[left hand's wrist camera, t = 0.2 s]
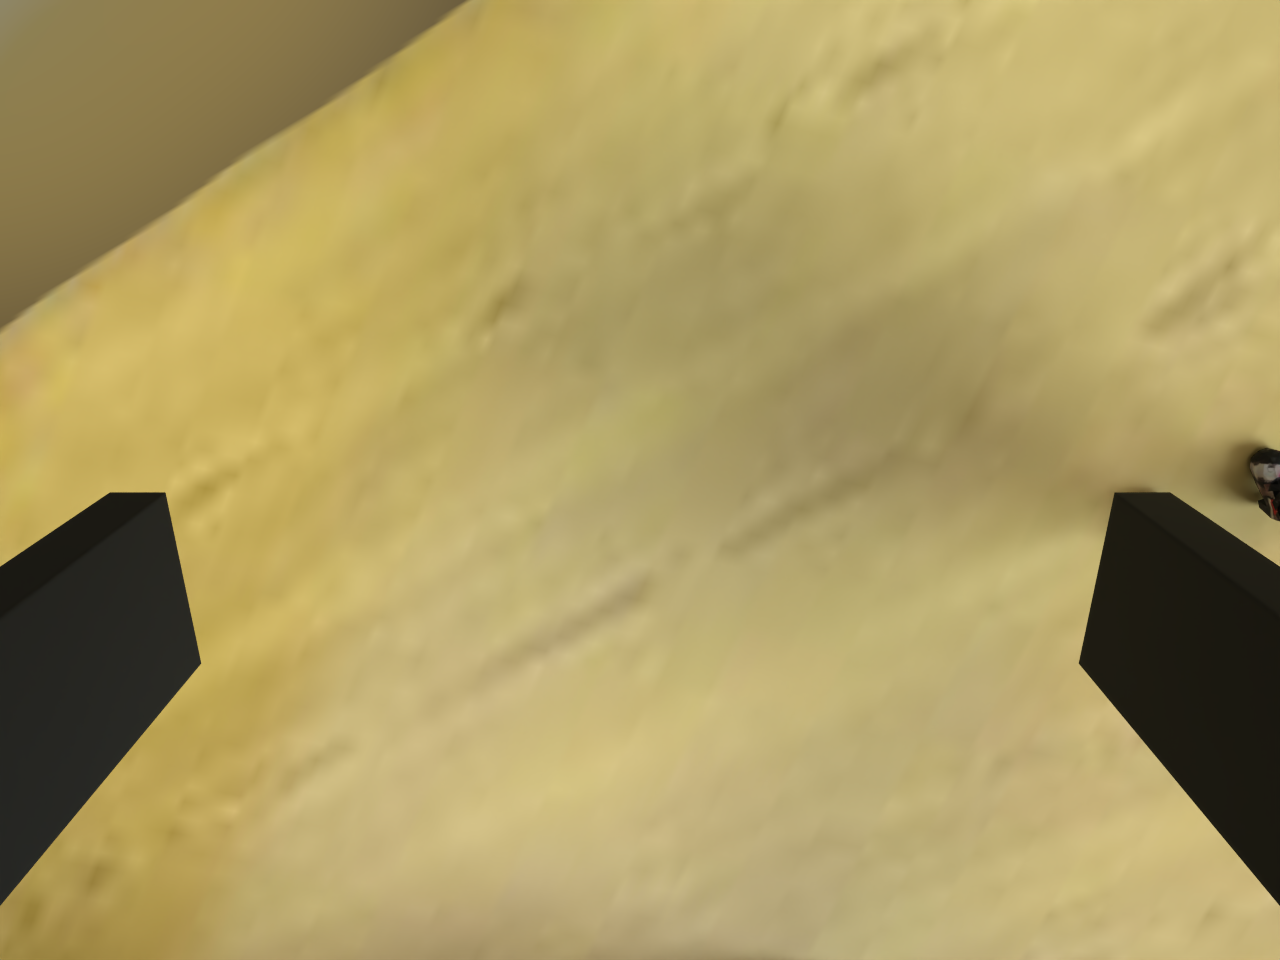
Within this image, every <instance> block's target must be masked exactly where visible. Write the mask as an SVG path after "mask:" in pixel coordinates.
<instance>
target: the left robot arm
mask: <svg viewBox="0 0 1280 960" xmlns="http://www.w3.org/2000/svg"><path fill="white" fill-rule="evenodd" d="M200 664H201V660H200V656H199V651H198V646H197V641H196V636H195V632H194V627H193V622H192V617H191V613H190V608H189V603H188V598H187V593H186V589H185V584H184V579H183V574H182V570H181V565H180V560H179V555H178V550H177V546H176V541H175V536H174V531H173V527H172V522H171V517H170V512H169V508H168V503H167V498H166V493H109V494H107V495H106V496H104V497H103V498H101V499H100V500H98V501H97V502H95V503H94V504H92V505H91V506H89V507H88V508H86V509H85V510H83V511H82V512H80V513H79V514H77V515H76V516H75V517H73V518H72V519H70V520H69V521H67V522H66V523H64V524H63V525H61V526H60V527H58V528H57V529H55V530H54V531H52V532H51V533H49V534H48V535H46V536H45V537H43V538H42V539H40V540H39V541H38V542H36V543H35V544H33V545H32V546H30V547H29V548H27V549H26V550H24V551H23V552H21V553H20V554H18V555H17V556H15V557H14V558H12V559H11V560H9V561H8V562H6V563H5V564H4V565H2V566H1V567H0V905H1V904H2V903H3V902H4V900H5V899H6V898H7V897H8V896H9V894H10V893H11V892H12V891H13V890H14V888H15V887H16V886H17V885H18V884H19V882H20V881H21V880H22V879H23V878H24V876H25V875H26V874H27V873H28V872H29V870H30V869H31V868H32V867H33V866H34V864H35V863H36V862H37V861H38V859H39V858H40V857H41V856H42V855H43V853H44V852H45V851H46V850H47V849H48V847H49V846H50V845H51V844H52V843H53V841H54V840H55V839H56V838H57V837H58V835H59V834H60V833H61V832H62V831H63V829H64V828H65V827H66V826H67V825H68V823H69V822H70V821H71V820H72V819H73V817H74V816H75V815H76V814H77V812H78V811H79V810H80V809H81V808H82V806H83V805H84V804H85V803H86V802H87V800H88V799H89V798H90V797H91V796H92V794H93V793H94V792H95V791H96V790H97V788H98V787H99V786H100V785H101V784H102V782H103V781H104V780H105V779H106V778H107V776H108V775H109V774H110V773H111V771H112V770H113V769H114V768H115V767H116V765H117V764H118V763H119V762H120V761H121V759H122V758H123V757H124V756H125V755H126V753H127V752H128V751H129V750H130V749H131V747H132V746H133V745H134V744H135V743H136V741H137V740H138V739H139V738H140V737H141V735H142V734H143V733H144V732H145V730H146V729H147V728H148V727H149V726H150V724H151V723H152V722H153V721H154V720H155V718H156V717H157V716H158V715H159V714H160V712H161V711H162V710H163V709H164V708H165V706H166V705H167V704H168V703H169V702H170V700H171V699H172V698H173V697H174V696H175V694H176V693H177V692H178V691H179V689H180V688H181V687H182V686H183V685H184V683H185V682H186V681H187V680H188V679H189V677H190V676H191V675H192V674H193V673H194V671H195V670H196V669H197V668H198V667H199V665H200ZM1079 664H1080V665H1081V667H1082V668H1083V669H1084V670H1085V671H1086V673H1087V674H1088V675H1089V676H1090V677H1091V679H1092V680H1093V681H1094V682H1095V683H1096V685H1097V686H1098V687H1099V688H1100V689H1101V691H1102V692H1103V693H1104V694H1105V696H1106V697H1107V698H1108V699H1109V700H1110V702H1111V703H1112V704H1113V705H1114V706H1115V708H1116V709H1117V710H1118V711H1119V712H1120V714H1121V715H1122V716H1123V717H1124V718H1125V720H1126V721H1127V722H1128V723H1129V724H1130V726H1131V727H1132V728H1133V729H1134V730H1135V732H1136V733H1137V734H1138V735H1139V737H1140V738H1141V739H1142V740H1143V741H1144V743H1145V744H1146V745H1147V746H1148V747H1149V749H1150V750H1151V751H1152V752H1153V753H1154V755H1155V756H1156V757H1157V758H1158V759H1159V761H1160V762H1161V763H1162V764H1163V765H1164V767H1165V768H1166V769H1167V770H1168V771H1169V773H1170V774H1171V775H1172V776H1173V778H1174V779H1175V780H1176V781H1177V782H1178V784H1179V785H1180V786H1181V787H1182V788H1183V790H1184V791H1185V792H1186V793H1187V794H1188V796H1189V797H1190V798H1191V799H1192V800H1193V802H1194V803H1195V804H1196V805H1197V806H1198V808H1199V809H1200V810H1201V811H1202V812H1203V814H1204V815H1205V816H1206V817H1207V819H1208V820H1209V821H1210V822H1211V823H1212V825H1213V826H1214V827H1215V828H1216V829H1217V831H1218V832H1219V833H1220V834H1221V835H1222V837H1223V838H1224V839H1225V840H1226V841H1227V843H1228V844H1229V845H1230V846H1231V847H1232V849H1233V850H1234V851H1235V852H1236V853H1237V855H1238V856H1239V857H1240V858H1241V859H1242V861H1243V862H1244V863H1245V864H1246V866H1247V867H1248V868H1249V869H1250V870H1251V872H1252V873H1253V874H1254V875H1255V876H1256V878H1257V879H1258V880H1259V881H1260V882H1261V884H1262V885H1263V886H1264V887H1265V888H1266V890H1267V891H1268V892H1269V893H1270V894H1271V896H1272V897H1273V898H1274V899H1275V900H1276V902H1277V903H1278V904H1279V905H1280V567H1279V566H1278V565H1276V564H1275V563H1274V562H1272V561H1271V560H1269V559H1268V558H1266V557H1265V556H1263V555H1262V554H1260V553H1259V552H1257V551H1256V550H1254V549H1253V548H1251V547H1250V546H1248V545H1247V544H1245V543H1244V542H1242V541H1241V540H1240V539H1238V538H1237V537H1235V536H1234V535H1232V534H1231V533H1229V532H1228V531H1226V530H1225V529H1223V528H1222V527H1220V526H1219V525H1217V524H1216V523H1214V522H1213V521H1211V520H1210V519H1208V518H1207V517H1205V516H1204V515H1203V514H1201V513H1200V512H1198V511H1197V510H1195V509H1194V508H1192V507H1191V506H1189V505H1188V504H1186V503H1185V502H1183V501H1182V500H1180V499H1179V498H1177V497H1176V496H1174V495H1173V494H1171V493H1114V498H1113V503H1112V507H1111V512H1110V517H1109V522H1108V527H1107V531H1106V536H1105V541H1104V546H1103V550H1102V555H1101V560H1100V565H1099V570H1098V574H1097V579H1096V584H1095V589H1094V593H1093V598H1092V603H1091V608H1090V613H1089V617H1088V622H1087V627H1086V632H1085V636H1084V641H1083V646H1082V651H1081V656H1080V660H1079Z"/></svg>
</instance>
